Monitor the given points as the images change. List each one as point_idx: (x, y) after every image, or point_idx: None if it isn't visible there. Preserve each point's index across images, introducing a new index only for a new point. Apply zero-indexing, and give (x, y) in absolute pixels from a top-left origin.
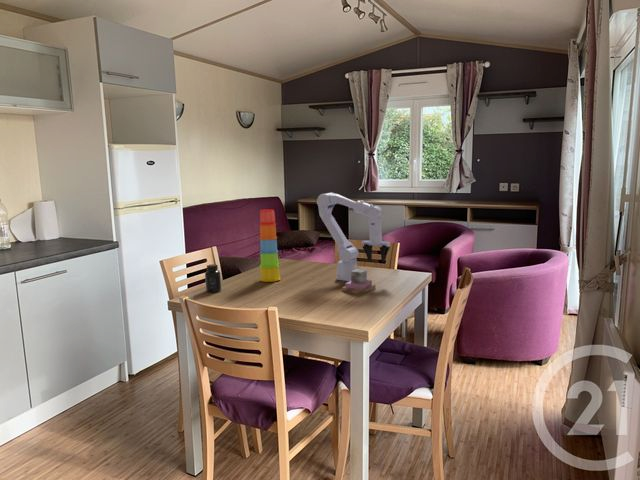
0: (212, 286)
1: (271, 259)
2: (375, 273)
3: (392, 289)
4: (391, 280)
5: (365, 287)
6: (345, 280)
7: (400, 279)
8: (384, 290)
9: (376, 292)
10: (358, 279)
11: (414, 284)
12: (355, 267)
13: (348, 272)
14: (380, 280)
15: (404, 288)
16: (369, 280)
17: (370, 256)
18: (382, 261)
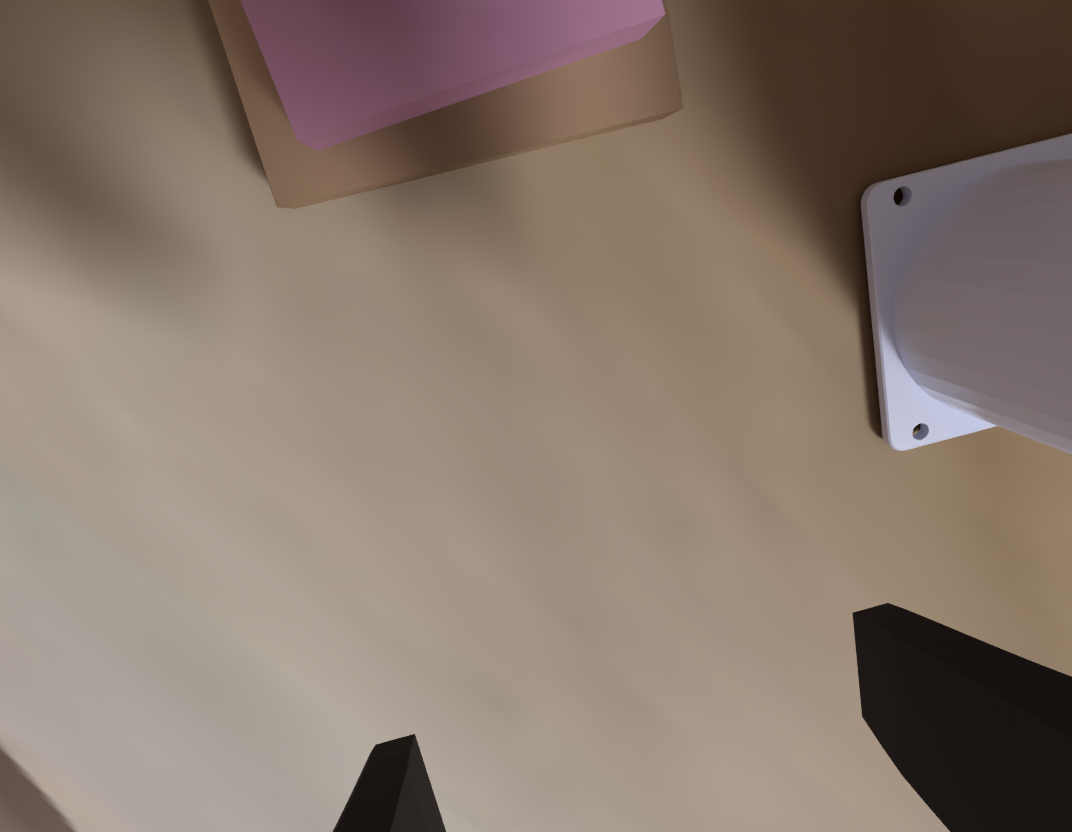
0: None
1: None
2: (903, 777)
3: (68, 376)
4: (490, 703)
5: None
6: (986, 156)
7: (445, 816)
8: (94, 231)
9: (65, 19)
10: None
11: (112, 789)
12: (1059, 365)
13: (1062, 191)
14: (601, 595)
15: (9, 552)
16: (326, 97)
17: (938, 761)
18: (387, 749)
